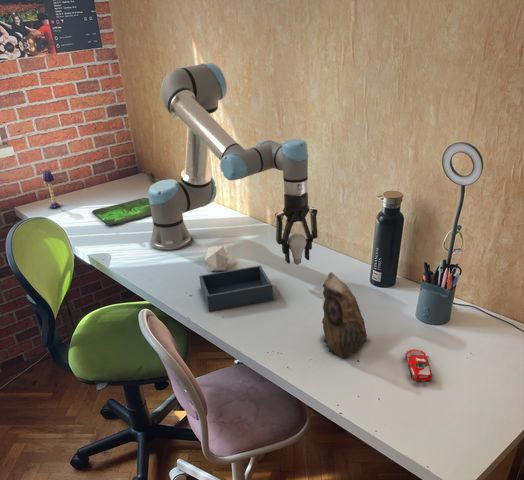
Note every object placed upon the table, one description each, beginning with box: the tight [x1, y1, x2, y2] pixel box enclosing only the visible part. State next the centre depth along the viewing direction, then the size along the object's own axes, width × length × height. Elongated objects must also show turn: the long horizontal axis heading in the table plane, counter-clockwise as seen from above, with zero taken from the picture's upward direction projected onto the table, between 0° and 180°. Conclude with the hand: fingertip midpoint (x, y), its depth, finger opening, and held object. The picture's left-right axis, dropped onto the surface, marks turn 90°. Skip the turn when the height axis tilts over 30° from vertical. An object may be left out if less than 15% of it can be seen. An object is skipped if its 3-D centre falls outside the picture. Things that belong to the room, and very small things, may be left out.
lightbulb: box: [287, 232, 307, 266], centre depth 187 cm, size 6×6×11 cm
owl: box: [321, 271, 368, 359], centre depth 156 cm, size 13×13×20 cm
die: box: [204, 246, 230, 272], centre depth 201 cm, size 8×9×10 cm
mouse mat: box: [91, 197, 152, 226], centre depth 252 cm, size 27×22×1 cm
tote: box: [198, 265, 274, 312], centre depth 186 cm, size 15×21×6 cm
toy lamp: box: [42, 169, 61, 210], centre depth 257 cm, size 5×5×17 cm
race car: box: [405, 348, 433, 384], centre depth 149 cm, size 13×5×4 cm, turn 177°
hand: (297, 260), depth 189 cm, fingers closed on lightbulb, 6 cm apart
